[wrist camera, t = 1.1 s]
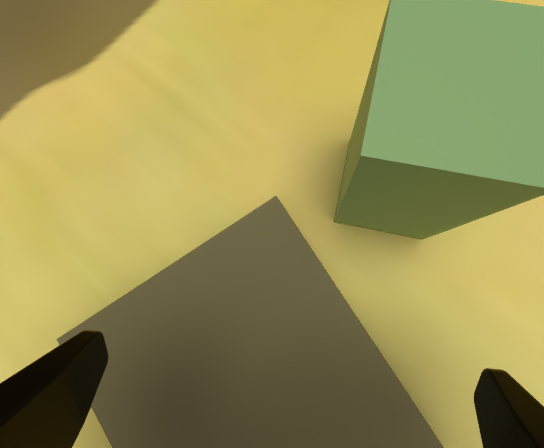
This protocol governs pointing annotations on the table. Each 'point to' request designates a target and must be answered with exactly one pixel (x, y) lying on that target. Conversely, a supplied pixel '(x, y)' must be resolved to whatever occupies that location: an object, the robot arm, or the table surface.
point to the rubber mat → (247, 353)
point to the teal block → (447, 118)
